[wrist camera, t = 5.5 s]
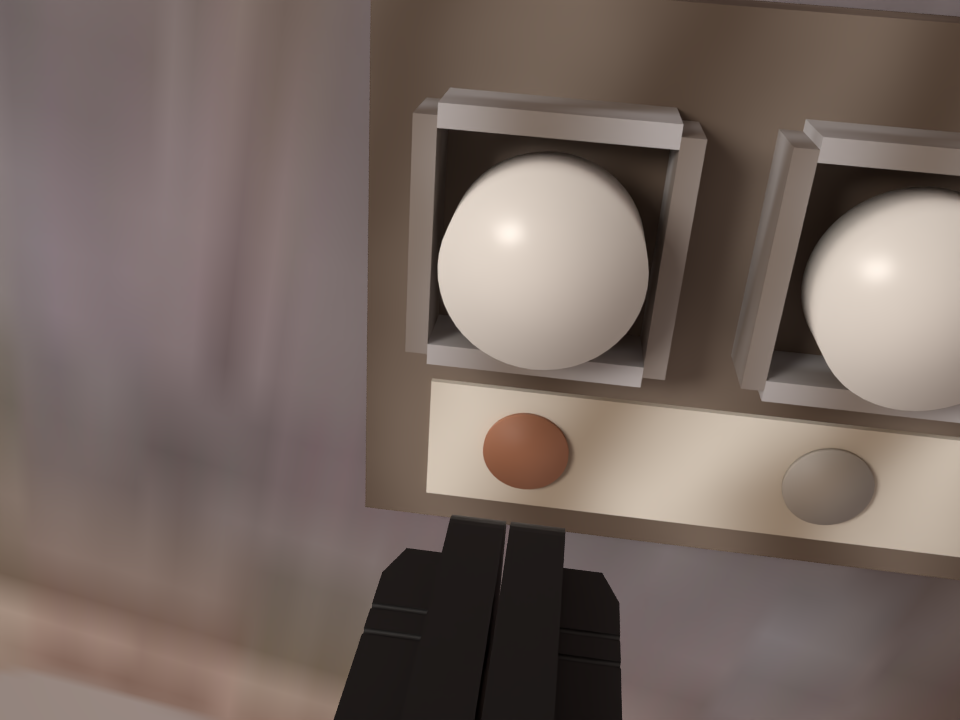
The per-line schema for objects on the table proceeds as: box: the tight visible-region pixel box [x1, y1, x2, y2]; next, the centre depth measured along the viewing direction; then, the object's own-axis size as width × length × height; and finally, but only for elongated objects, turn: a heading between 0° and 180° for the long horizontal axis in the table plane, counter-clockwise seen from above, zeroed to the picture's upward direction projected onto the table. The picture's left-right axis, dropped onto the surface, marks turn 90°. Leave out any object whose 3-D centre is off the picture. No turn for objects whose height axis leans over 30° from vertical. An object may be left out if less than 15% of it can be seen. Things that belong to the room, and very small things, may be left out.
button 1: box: [438, 151, 649, 370], centre depth 23 cm, size 5×5×2 cm
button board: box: [365, 0, 960, 580], centre depth 25 cm, size 28×16×4 cm, turn 86°
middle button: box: [801, 186, 960, 411], centre depth 22 cm, size 5×5×2 cm
